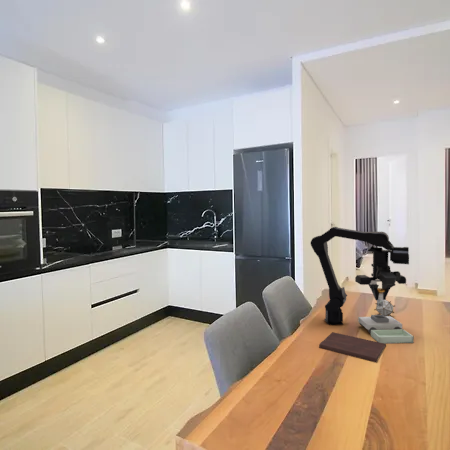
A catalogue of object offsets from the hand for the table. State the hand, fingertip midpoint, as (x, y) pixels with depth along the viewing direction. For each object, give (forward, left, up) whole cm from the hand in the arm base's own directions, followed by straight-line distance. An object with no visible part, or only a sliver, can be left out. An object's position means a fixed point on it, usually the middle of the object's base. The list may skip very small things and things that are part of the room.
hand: (380, 299), depth 135 cm
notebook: (-18, -15, -14) cm, 27 cm away
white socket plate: (0, 0, -13) cm, 13 cm away
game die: (+10, +16, -13) cm, 23 cm away
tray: (0, -9, -13) cm, 16 cm away
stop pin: (0, 0, -2) cm, 2 cm away
